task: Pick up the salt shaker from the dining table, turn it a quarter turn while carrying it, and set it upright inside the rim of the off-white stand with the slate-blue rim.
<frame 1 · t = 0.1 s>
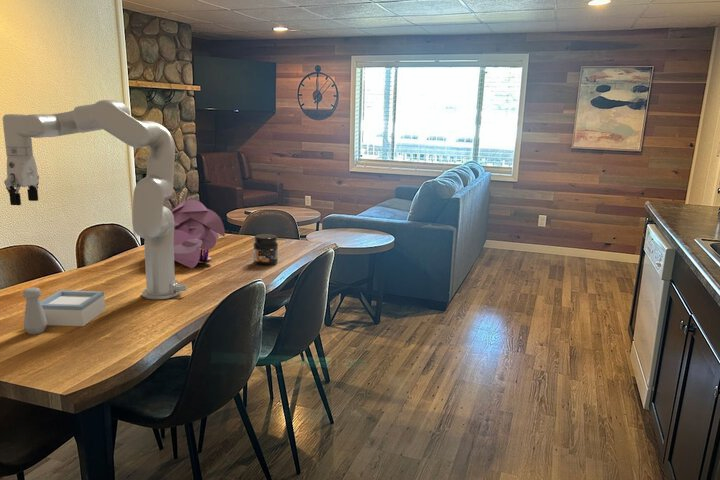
hand: (24, 202, 182), 31 cm above the table, tool pointing down, fingers open, 9 cm apart
salt shaker: (36, 332, 154), on the table
supplement container: (265, 263, 234), on the table
flower arrangement: (187, 261, 233), on the table
stand: (72, 316, 166), on the table
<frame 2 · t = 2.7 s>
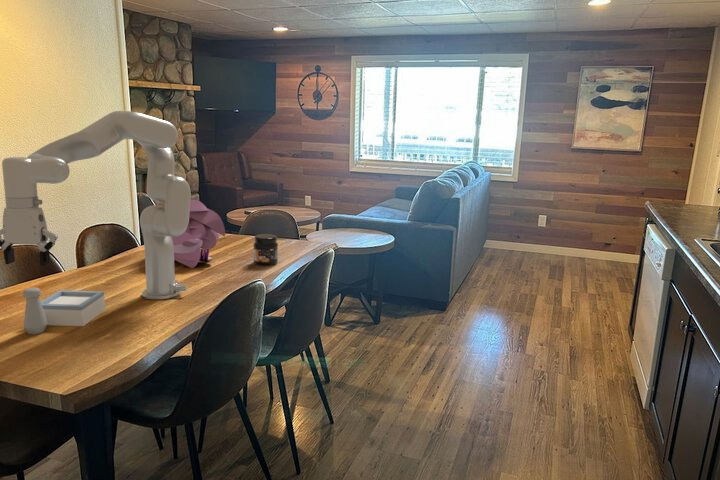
hand: (27, 263, 149), 20 cm above the table, tool pointing down, fingers open, 9 cm apart
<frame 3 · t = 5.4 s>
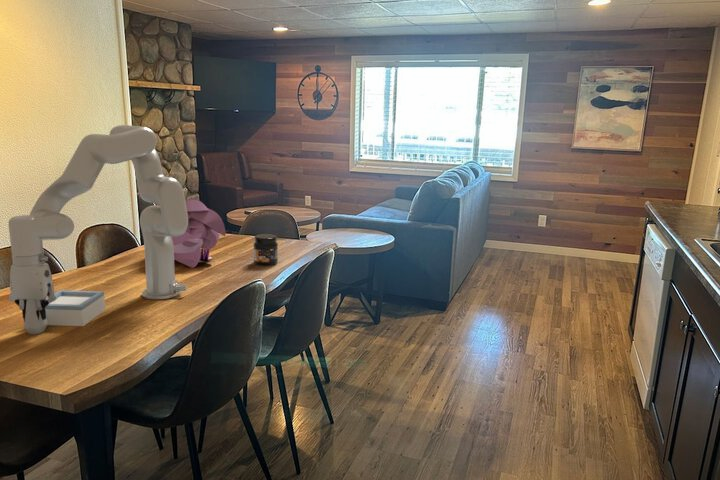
hand: (34, 321, 153), 3 cm above the table, tool pointing down, fingers closed on salt shaker, 3 cm apart
salt shaker: (36, 332, 154), on the table, touching gripper
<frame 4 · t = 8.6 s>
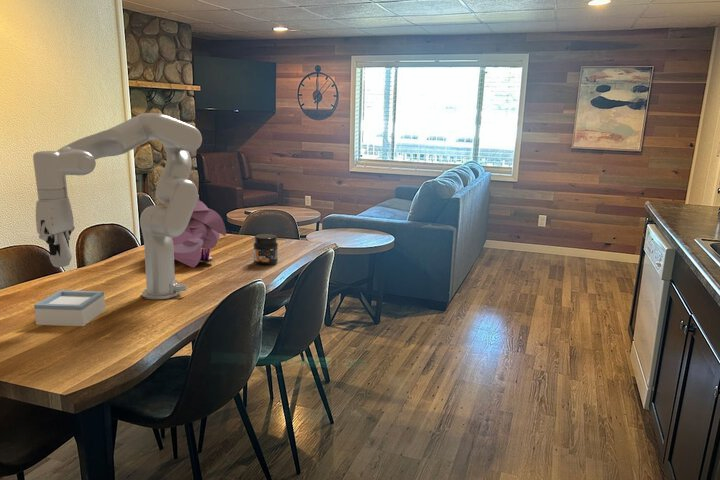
hand: (60, 254, 159), 20 cm above the table, tool pointing down, fingers closed on salt shaker, 3 cm apart
salt shaker: (61, 265, 160), point 17 cm above the table, touching gripper
when the fingers open (10 cm above the table, at t = 12.3 s): salt shaker drops 1 cm, resting on stand.
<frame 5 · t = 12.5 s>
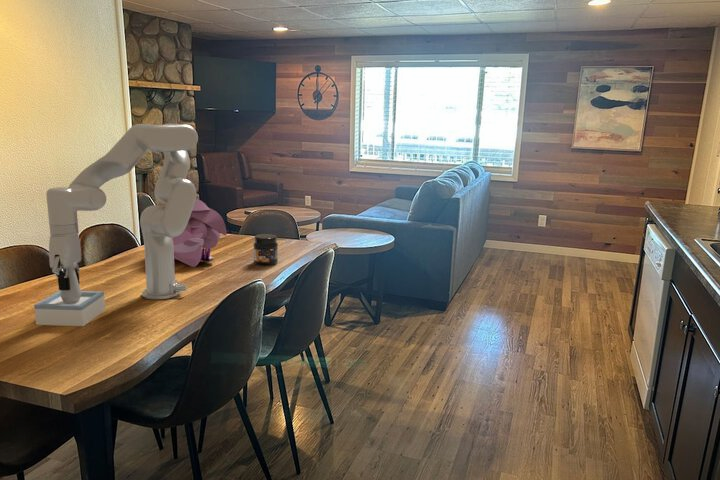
hand: (69, 286, 164), 10 cm above the table, tool pointing down, fingers open, 4 cm apart
salt shaker: (71, 302, 165), point 5 cm above the table, touching stand
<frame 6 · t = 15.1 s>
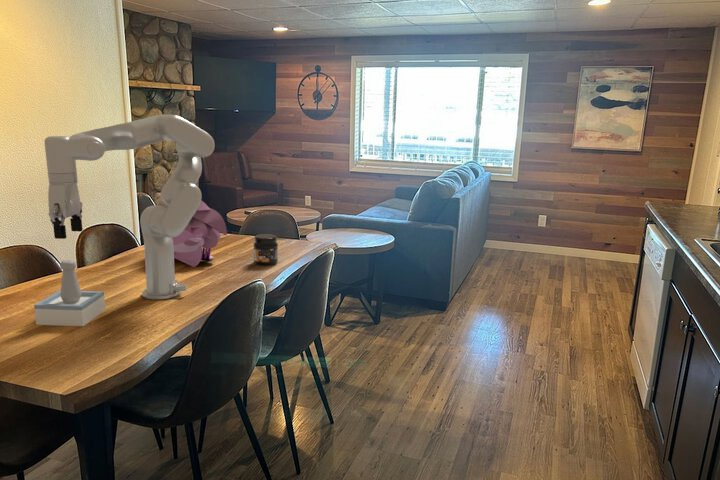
hand: (69, 234, 162), 26 cm above the table, tool pointing down, fingers open, 9 cm apart
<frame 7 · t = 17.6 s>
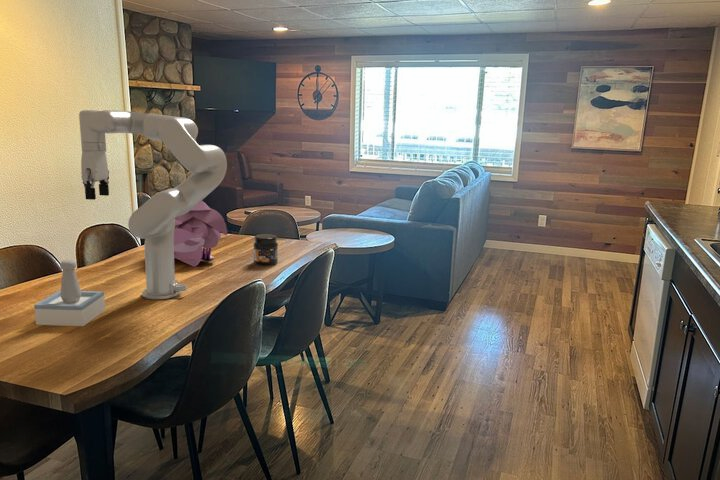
hand: (97, 197, 186), 33 cm above the table, tool pointing down, fingers open, 9 cm apart
at the end: salt shaker 0.3 cm off-centre on the stand, point 4.8 cm above the stand's base; salt shaker tilted 0°; the gripper is holding nothing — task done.
